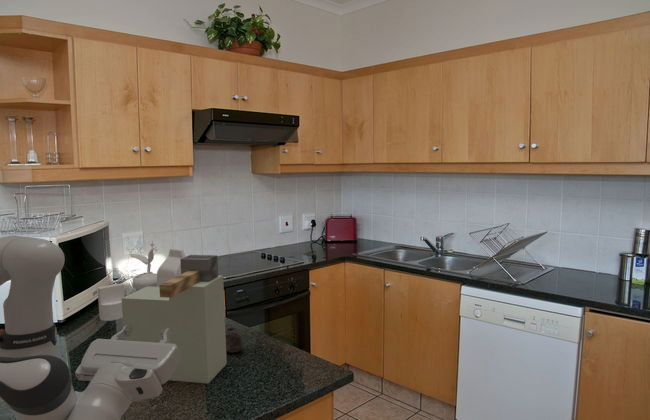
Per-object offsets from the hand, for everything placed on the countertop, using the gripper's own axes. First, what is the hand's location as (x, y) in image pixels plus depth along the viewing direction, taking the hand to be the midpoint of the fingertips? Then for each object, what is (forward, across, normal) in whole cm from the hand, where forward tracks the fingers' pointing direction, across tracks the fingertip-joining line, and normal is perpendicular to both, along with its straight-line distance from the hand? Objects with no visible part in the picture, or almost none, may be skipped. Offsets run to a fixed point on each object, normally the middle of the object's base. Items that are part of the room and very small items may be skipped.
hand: (148, 328), depth 104 cm
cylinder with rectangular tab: (+43, -55, -50) cm, 86 cm away
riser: (+10, -7, -30) cm, 33 cm away
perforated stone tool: (+25, +1, -40) cm, 47 cm away
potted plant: (+63, -56, -61) cm, 104 cm away
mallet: (+18, 0, -5) cm, 19 cm away
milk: (+46, -29, -51) cm, 74 cm away
